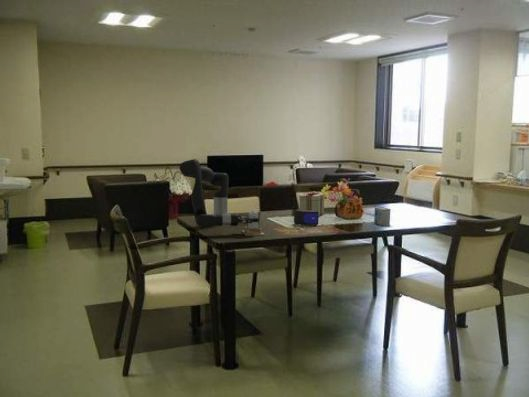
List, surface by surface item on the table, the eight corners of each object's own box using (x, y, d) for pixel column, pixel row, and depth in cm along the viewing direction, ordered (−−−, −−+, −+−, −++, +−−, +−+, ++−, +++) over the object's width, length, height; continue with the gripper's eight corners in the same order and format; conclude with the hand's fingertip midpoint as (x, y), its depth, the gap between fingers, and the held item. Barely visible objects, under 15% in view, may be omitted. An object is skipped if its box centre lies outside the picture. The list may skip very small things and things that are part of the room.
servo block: (248, 229, 320) (248, 210, 319) (256, 229, 321) (256, 210, 320) (249, 231, 315) (250, 211, 314) (257, 230, 317) (258, 211, 315)
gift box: (300, 212, 404) (301, 189, 402) (324, 213, 398) (325, 190, 396) (294, 215, 388) (295, 192, 386) (319, 217, 382) (319, 193, 380)
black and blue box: (293, 224, 350) (293, 210, 348) (294, 223, 354) (294, 209, 353) (317, 225, 347) (318, 211, 346) (318, 224, 352) (318, 210, 350)
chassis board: (242, 231, 324) (242, 225, 323) (259, 231, 326) (259, 224, 326) (246, 235, 311) (246, 229, 311) (264, 235, 314) (264, 228, 313)
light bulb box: (373, 222, 363) (374, 206, 362) (382, 222, 365) (383, 206, 363) (381, 225, 353) (381, 209, 351) (390, 224, 354) (390, 208, 353)
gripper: (231, 215, 307) (260, 215, 311) (227, 211, 321) (255, 211, 325) (231, 228, 308) (259, 227, 312) (227, 223, 322) (255, 223, 326)
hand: (257, 219), depth 318 cm, fingers closed on servo block, 5 cm apart
